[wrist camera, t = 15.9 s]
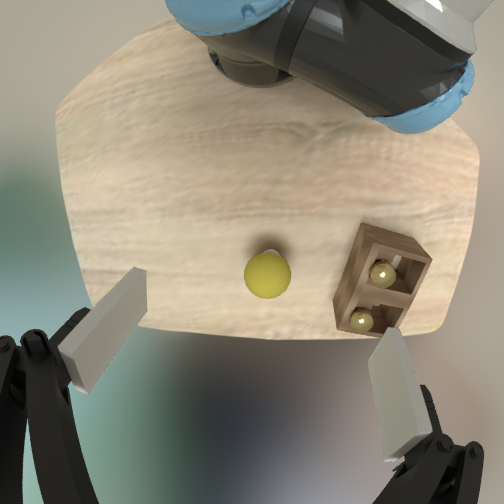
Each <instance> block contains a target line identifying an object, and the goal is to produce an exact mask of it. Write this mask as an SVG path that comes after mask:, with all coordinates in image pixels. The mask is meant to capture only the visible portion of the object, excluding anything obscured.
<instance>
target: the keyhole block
mask: <svg viewBox="0 0 504 504" xmlns="http://www.w3.org/2000/svg"><path fill="white" fill-rule="evenodd" d="M395 255H399V256H402V259H401V261H400V264H399V266H398V268H397V270H396V269H394V270H395V272H396V279H395V281H394V283H393V284H392V285H391V286H389V287H387V288H383V289H381V288H377V287H376V286H375V285H374V284H373V282H372V280H371V277H370V271H371V268H372V267H373V264H374V262H375V259H379V260H383V261H387V262H391V263H392V262H393V259H394V257H395ZM431 262H432V258H431V257H430V256H429V255H428V254H427V252H426V251H425V250H424V249H423V248H422V247H421V246H420V245H419V243H418V242H417V241H416V240H415V239H414V238H411V237H408V236H405V235H402V234H398V233H395V232H392V231H388V230H385V229H381V228H378V227H374V226H371V225H367V224H364V223H361V225H360V228H359V231H358V234H357V237H356V240H355V243H354V246H353V248H352V251H351V254H350V257H349V260H348V263H347V265H346V268H345V271H344V273H343V276H342V279H341V281H340V284H339V287H338V289H337V292H336V294H335V297H334V299H333V306H334V313H335V320H336V327H337V330H339V331H345V332H350V333H356V332H354V331H353V330H352V329H351V324H350V317H351V315H352V314H353V313H354V309H355V307H360V308H363V309H365V310H368V311H369V312H370V313H371V315H372V318H373V326H372V328H371V329H370V330H369V331H367V332H365V333H356V334H361V335H367V336H373V337H379V338H382V337H383V335H384V333H385V332H386V330H387V328H388V327H391V328H397V329H398V328H399V326H400V324H401V322H402V320H403V319H404V317H405V315H406V313H407V311H408V309H409V308H410V306H411V304H412V302H413V300H414V298H415V296H416V294H417V292H418V290H419V288H420V286H421V284H422V282H423V279H424V277H425V275H426V273H427V271H428V268H429V266H430V264H431ZM374 303H378V304H381V306H380V307H377V306H373V305H374Z"/></svg>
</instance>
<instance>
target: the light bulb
mask: <svg viewBox="0 0 504 504" xmlns="http://www.w3.org/2000/svg"><path fill="white" fill-rule="evenodd" d="M290 279H291V271H290V267H289V265H288V264H287V262H286V261H285V260H284V259H283V258H282V257H281V256H280V254H279V253H278V252H277V251H276V250H274V249H268V250H266V251H264V252H263V253H261V254H258V255H256V256H254V257H252V258H251V259H250V260H249V262H248V263H247V265H246V268H245V271H244V280H245V283H246V286H247V287H248V289H249V290H250V292H252V293H253V294H254V295H256V296H258V297H260V298H265V299H270V298H275V297H277V296H279V295H281V294H282V293H283V292H284V291H285V290H286V289H287V287H288V285H289V284H290Z"/></svg>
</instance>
